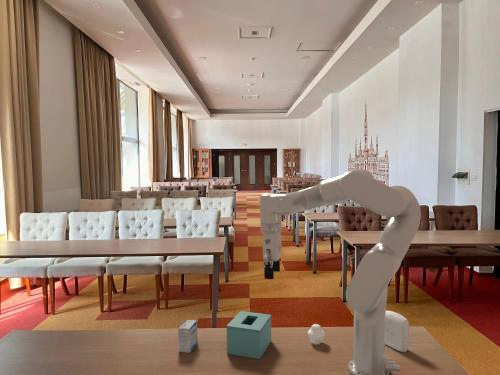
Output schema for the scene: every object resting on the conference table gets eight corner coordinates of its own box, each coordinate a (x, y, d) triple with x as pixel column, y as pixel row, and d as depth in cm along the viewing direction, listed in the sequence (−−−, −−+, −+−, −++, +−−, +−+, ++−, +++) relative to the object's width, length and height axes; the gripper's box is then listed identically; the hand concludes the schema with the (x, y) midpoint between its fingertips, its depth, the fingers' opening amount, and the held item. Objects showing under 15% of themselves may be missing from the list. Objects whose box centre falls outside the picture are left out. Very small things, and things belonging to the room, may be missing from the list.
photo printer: (410, 350, 140) (411, 316, 139) (402, 353, 138) (403, 318, 137) (386, 339, 149) (387, 306, 148) (378, 342, 147) (379, 309, 146)
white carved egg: (308, 346, 143) (309, 327, 143) (306, 338, 149) (306, 320, 149) (326, 346, 143) (326, 327, 143) (323, 338, 149) (323, 320, 149)
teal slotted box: (271, 341, 148) (271, 314, 147) (259, 359, 135) (259, 330, 134) (240, 336, 152) (240, 310, 151) (226, 353, 138) (226, 325, 138)
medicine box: (190, 353, 139) (189, 329, 138) (178, 352, 140) (177, 328, 139) (197, 343, 147) (197, 320, 146) (186, 342, 148) (185, 319, 147)
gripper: (275, 232, 133) (277, 282, 134) (286, 224, 149) (287, 269, 150) (254, 231, 135) (255, 281, 136) (267, 224, 152) (268, 268, 153)
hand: (272, 275), depth 143 cm, fingers open, 9 cm apart
